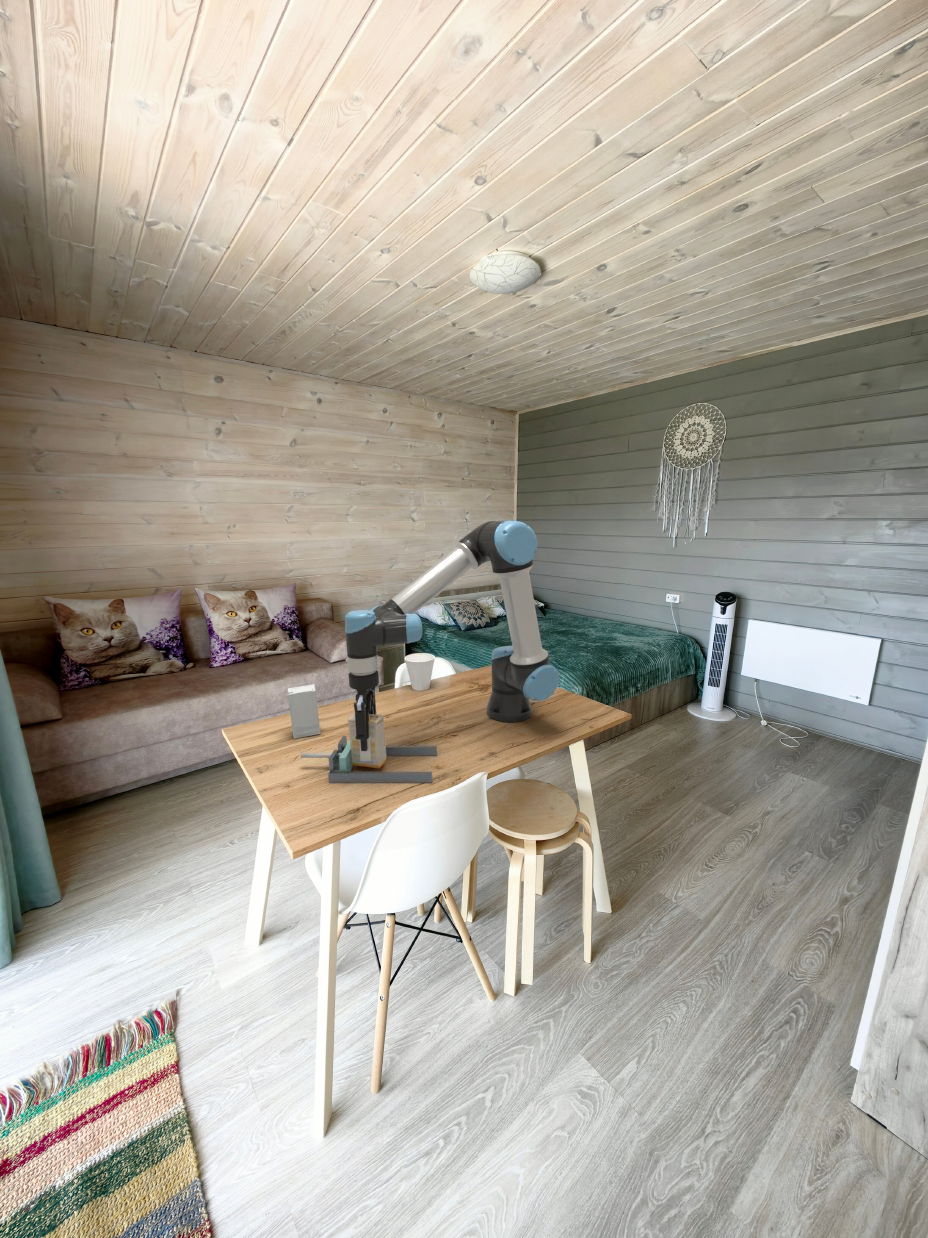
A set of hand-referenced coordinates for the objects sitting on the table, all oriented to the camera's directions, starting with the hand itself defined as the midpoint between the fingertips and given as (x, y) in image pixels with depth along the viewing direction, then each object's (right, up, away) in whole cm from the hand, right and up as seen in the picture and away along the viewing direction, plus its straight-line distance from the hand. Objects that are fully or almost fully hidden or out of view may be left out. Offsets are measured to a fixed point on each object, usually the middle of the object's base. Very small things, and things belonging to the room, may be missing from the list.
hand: (368, 754), depth 127 cm
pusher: (-11, -3, +1) cm, 12 cm away
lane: (+5, -4, +1) cm, 6 cm away
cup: (+8, +9, +61) cm, 62 cm away
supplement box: (0, -3, +1) cm, 3 cm away
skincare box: (-24, 0, +22) cm, 33 cm away
